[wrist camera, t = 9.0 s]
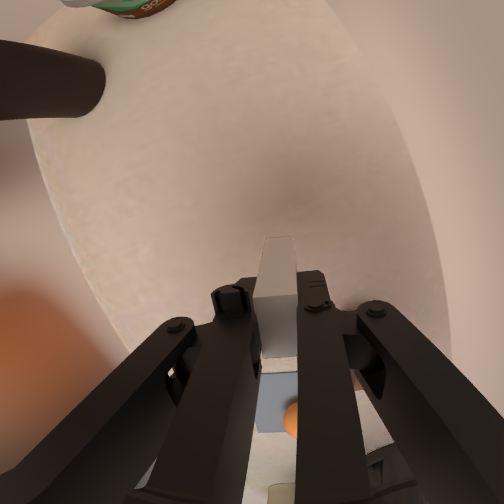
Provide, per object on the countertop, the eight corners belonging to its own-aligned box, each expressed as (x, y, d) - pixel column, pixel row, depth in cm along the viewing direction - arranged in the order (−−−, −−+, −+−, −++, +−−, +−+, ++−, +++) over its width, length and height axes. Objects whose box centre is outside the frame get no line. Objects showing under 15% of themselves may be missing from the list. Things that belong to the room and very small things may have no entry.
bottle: (94, 49, 21) (-55, 17, 3) (114, 91, 23) (-60, 77, 5) (55, 87, 23) (-88, 90, 5) (72, 129, 25) (-86, 156, 6)
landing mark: (347, 425, 37) (347, 426, 36) (258, 431, 39) (258, 432, 39) (355, 365, 32) (355, 366, 32) (243, 373, 34) (243, 375, 34)
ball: (325, 444, 29) (324, 409, 30) (282, 447, 30) (279, 413, 31) (323, 424, 35) (322, 392, 35) (285, 427, 36) (283, 395, 36)
